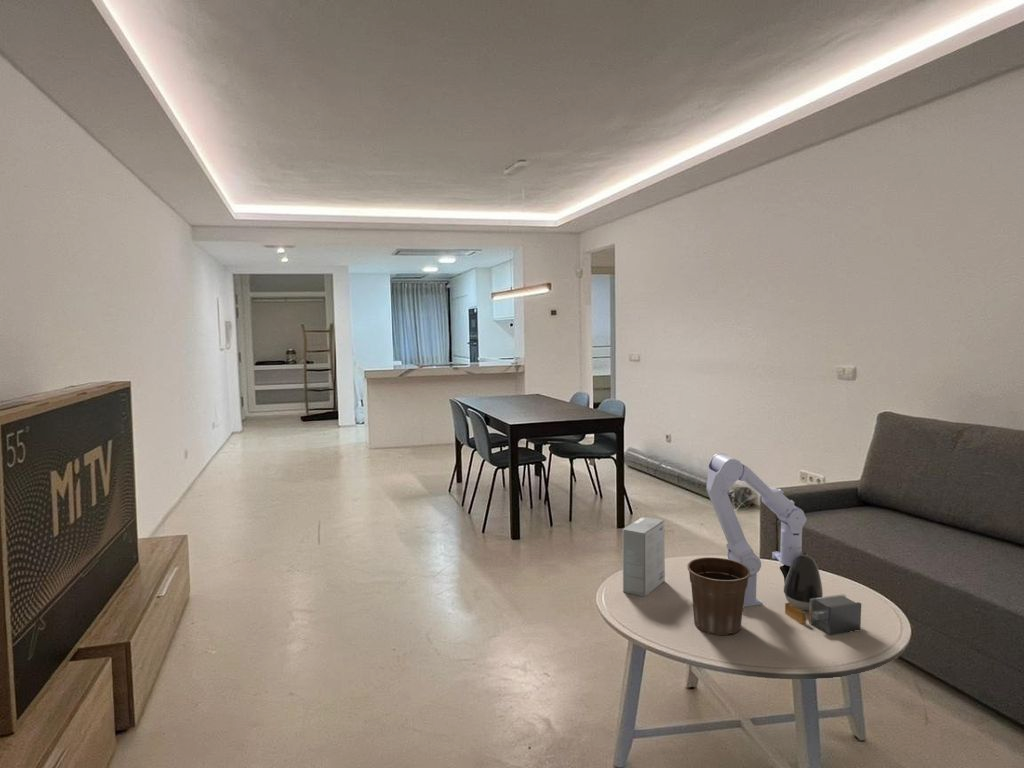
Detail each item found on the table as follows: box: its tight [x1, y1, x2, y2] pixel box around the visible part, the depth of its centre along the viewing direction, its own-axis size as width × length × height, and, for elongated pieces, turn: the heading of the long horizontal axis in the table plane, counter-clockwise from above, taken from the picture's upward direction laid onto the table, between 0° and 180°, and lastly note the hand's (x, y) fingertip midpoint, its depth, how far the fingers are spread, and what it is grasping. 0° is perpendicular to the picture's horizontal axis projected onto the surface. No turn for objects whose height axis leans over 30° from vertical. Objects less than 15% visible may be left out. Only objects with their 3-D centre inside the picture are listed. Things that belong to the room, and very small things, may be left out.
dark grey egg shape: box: [783, 551, 824, 611], centre depth 185 cm, size 10×10×15 cm
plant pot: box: [686, 556, 750, 636], centre depth 174 cm, size 16×16×16 cm
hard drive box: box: [621, 516, 666, 598], centre depth 201 cm, size 16×8×20 cm, turn 144°
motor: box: [784, 593, 862, 636], centre depth 177 cm, size 15×14×7 cm
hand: (790, 589), depth 192 cm, fingers closed, pressing on dark grey egg shape
